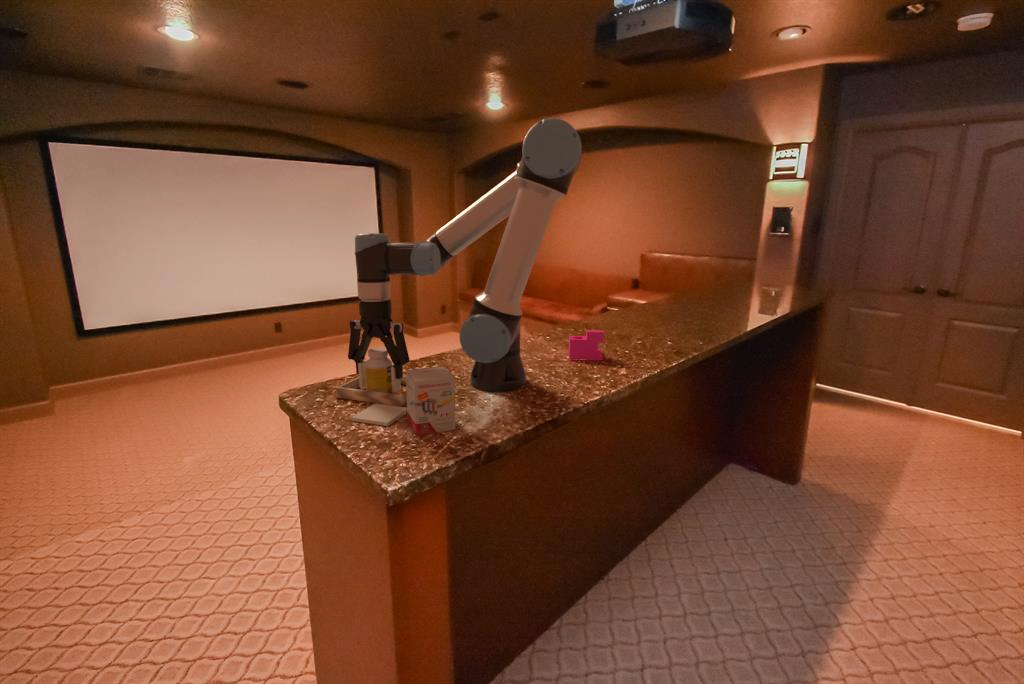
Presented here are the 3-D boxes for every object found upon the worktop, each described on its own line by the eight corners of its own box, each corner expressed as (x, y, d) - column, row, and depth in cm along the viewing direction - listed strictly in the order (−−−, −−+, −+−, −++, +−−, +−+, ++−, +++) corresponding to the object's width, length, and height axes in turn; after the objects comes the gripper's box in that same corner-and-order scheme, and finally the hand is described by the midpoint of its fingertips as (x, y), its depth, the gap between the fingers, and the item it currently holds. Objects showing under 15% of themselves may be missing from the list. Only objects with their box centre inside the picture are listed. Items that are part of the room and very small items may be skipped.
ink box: (415, 436, 96) (413, 380, 93) (407, 421, 103) (404, 368, 101) (456, 429, 99) (455, 375, 96) (445, 415, 107) (444, 364, 104)
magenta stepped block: (602, 364, 148) (604, 332, 146) (569, 363, 149) (570, 331, 147) (599, 354, 160) (600, 324, 158) (568, 353, 161) (569, 323, 159)
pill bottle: (386, 400, 116) (384, 354, 113) (362, 398, 117) (359, 352, 114) (398, 391, 122) (395, 347, 119) (374, 389, 123) (372, 346, 121)
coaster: (409, 411, 109) (409, 407, 109) (387, 426, 100) (387, 422, 100) (375, 406, 112) (375, 403, 111) (351, 420, 103) (351, 417, 103)
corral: (431, 387, 125) (430, 378, 125) (402, 406, 112) (401, 396, 111) (370, 380, 131) (369, 371, 130) (335, 397, 117) (335, 387, 117)
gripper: (422, 299, 114) (425, 388, 119) (346, 295, 121) (353, 380, 126) (406, 303, 107) (410, 398, 112) (327, 298, 114) (334, 388, 119)
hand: (380, 388), depth 119 cm, fingers open, 9 cm apart
